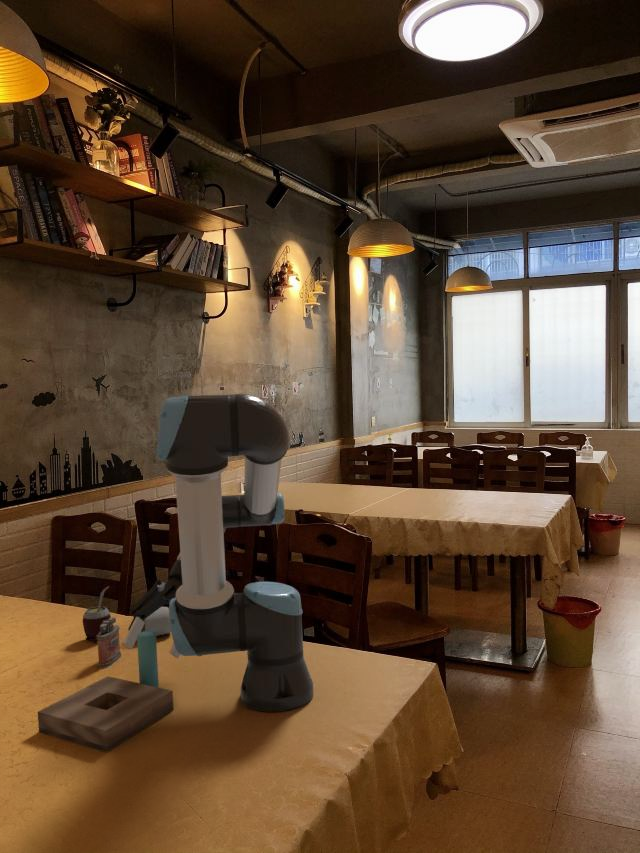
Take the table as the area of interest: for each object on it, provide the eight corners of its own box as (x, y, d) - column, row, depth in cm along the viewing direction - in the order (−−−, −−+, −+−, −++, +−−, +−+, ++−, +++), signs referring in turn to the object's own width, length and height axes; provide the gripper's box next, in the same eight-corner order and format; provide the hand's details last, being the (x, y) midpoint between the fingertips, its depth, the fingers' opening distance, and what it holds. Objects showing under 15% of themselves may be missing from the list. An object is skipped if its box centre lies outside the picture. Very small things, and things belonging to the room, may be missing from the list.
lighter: (108, 668, 164) (105, 626, 164) (94, 667, 165) (92, 625, 164) (124, 654, 172) (121, 615, 171) (111, 654, 173) (109, 614, 172)
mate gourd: (87, 635, 187) (84, 580, 186) (117, 633, 188) (114, 578, 187) (80, 645, 180) (77, 588, 179) (112, 643, 181) (108, 586, 180)
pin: (162, 686, 152) (159, 632, 152) (149, 693, 149) (146, 638, 148) (148, 683, 154) (145, 630, 154) (136, 690, 151) (132, 636, 150)
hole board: (173, 709, 141) (172, 690, 140) (107, 752, 125) (105, 730, 125) (108, 694, 149) (107, 676, 149) (38, 732, 134) (37, 711, 133)
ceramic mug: (175, 636, 184) (174, 607, 184) (145, 642, 180) (143, 613, 179) (162, 626, 193) (161, 598, 193) (133, 632, 189) (131, 604, 188)
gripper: (240, 579, 162) (202, 667, 149) (159, 570, 174) (118, 649, 162) (225, 562, 157) (185, 651, 145) (142, 554, 169) (99, 635, 157)
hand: (149, 650), depth 153 cm, fingers open, 13 cm apart
